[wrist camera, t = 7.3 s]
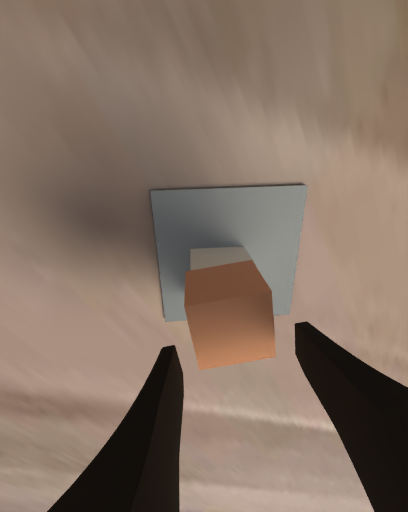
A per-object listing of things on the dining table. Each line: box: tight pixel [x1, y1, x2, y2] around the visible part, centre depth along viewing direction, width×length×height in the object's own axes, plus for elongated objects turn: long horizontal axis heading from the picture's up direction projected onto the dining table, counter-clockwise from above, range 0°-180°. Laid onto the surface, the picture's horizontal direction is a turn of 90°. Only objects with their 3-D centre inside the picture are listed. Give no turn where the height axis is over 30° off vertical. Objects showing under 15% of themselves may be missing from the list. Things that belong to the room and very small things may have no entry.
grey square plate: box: [150, 185, 308, 322], centre depth 20 cm, size 12×12×1 cm
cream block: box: [190, 246, 257, 271], centre depth 18 cm, size 4×4×4 cm
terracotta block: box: [184, 260, 276, 370], centre depth 14 cm, size 4×4×4 cm
